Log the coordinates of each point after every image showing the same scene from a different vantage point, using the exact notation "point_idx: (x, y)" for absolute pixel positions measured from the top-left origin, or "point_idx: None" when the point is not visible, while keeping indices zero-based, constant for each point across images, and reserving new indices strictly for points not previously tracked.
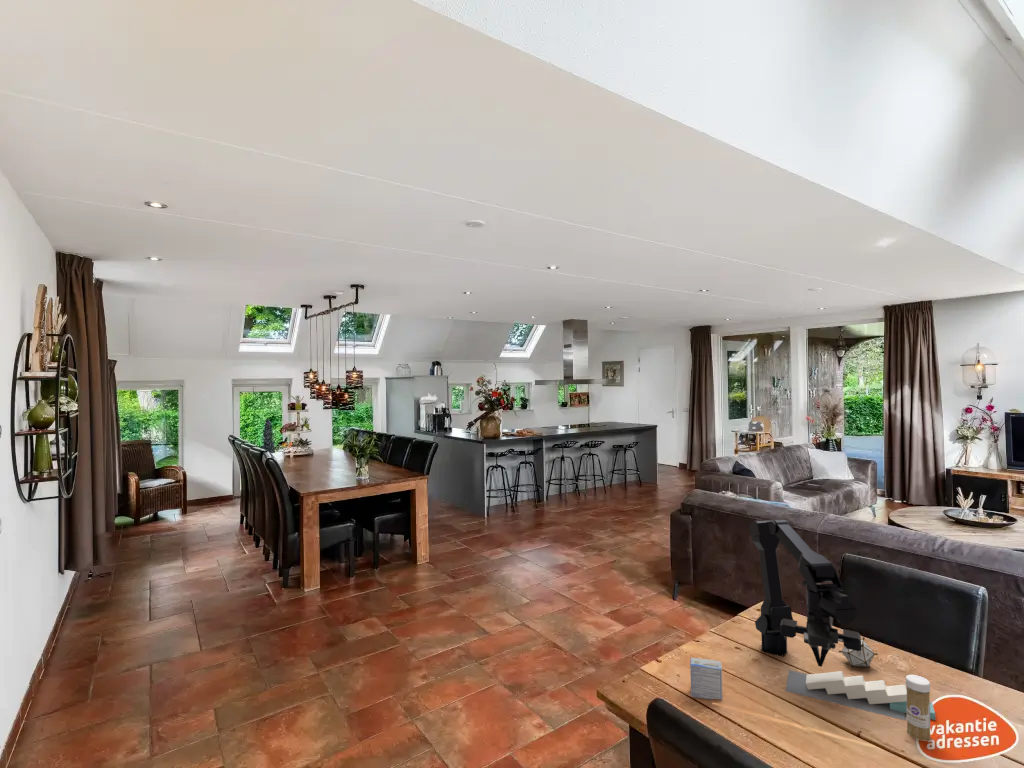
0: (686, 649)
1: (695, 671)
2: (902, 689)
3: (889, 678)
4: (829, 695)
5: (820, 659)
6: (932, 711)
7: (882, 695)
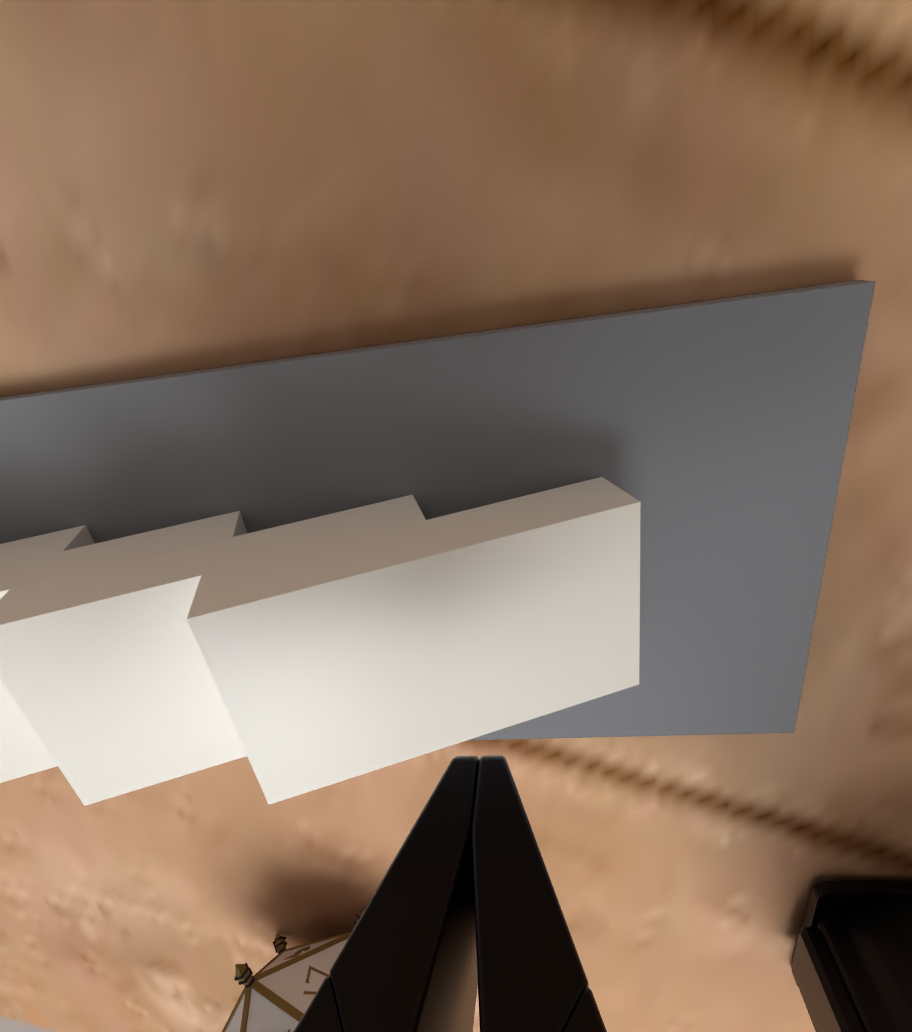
0: None
1: None
2: None
3: (168, 891)
4: (396, 481)
5: (452, 875)
6: None
7: None
